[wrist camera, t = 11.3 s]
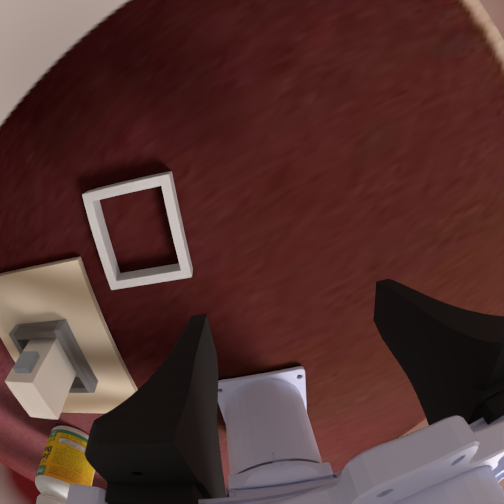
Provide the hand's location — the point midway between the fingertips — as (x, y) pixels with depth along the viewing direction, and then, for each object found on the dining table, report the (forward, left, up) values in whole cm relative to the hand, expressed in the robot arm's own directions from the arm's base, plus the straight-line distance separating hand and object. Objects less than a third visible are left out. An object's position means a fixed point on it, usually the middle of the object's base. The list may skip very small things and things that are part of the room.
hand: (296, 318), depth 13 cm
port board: (-7, +19, -9) cm, 22 cm away
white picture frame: (+2, +8, -9) cm, 13 cm away
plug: (-7, +19, -9) cm, 22 cm away
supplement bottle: (-21, +25, -10) cm, 34 cm away
